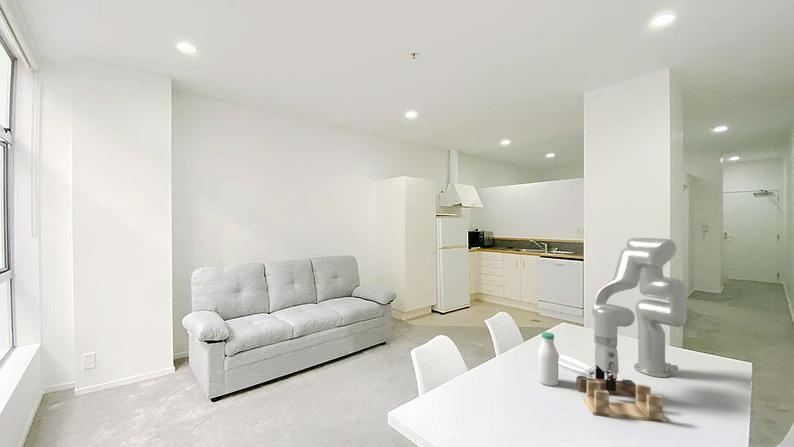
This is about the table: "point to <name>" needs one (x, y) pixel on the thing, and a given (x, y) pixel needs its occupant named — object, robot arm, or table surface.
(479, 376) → the table surface
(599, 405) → the wooden cradle stand
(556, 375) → the milk bottle
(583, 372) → the door handle
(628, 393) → the rail
